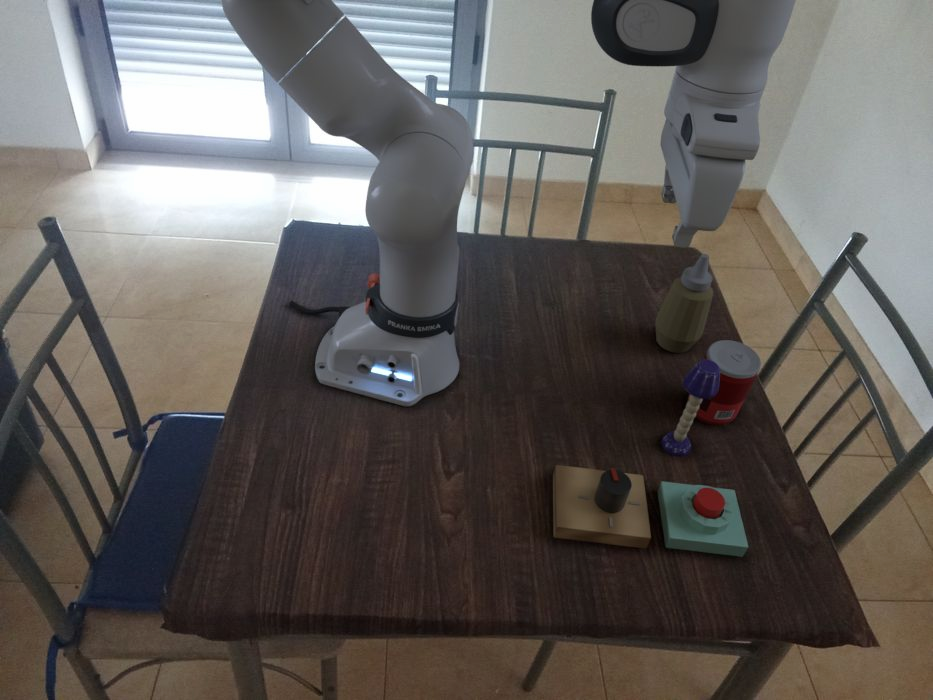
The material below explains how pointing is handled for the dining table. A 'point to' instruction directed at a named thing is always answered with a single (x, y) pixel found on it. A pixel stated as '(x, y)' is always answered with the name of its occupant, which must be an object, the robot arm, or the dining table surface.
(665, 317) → the squeeze bottle
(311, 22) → the robot arm
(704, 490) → the power button
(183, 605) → the dining table surface
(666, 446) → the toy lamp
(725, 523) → the switch block
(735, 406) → the canned food
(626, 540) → the dimmer panel
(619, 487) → the dimmer knob
